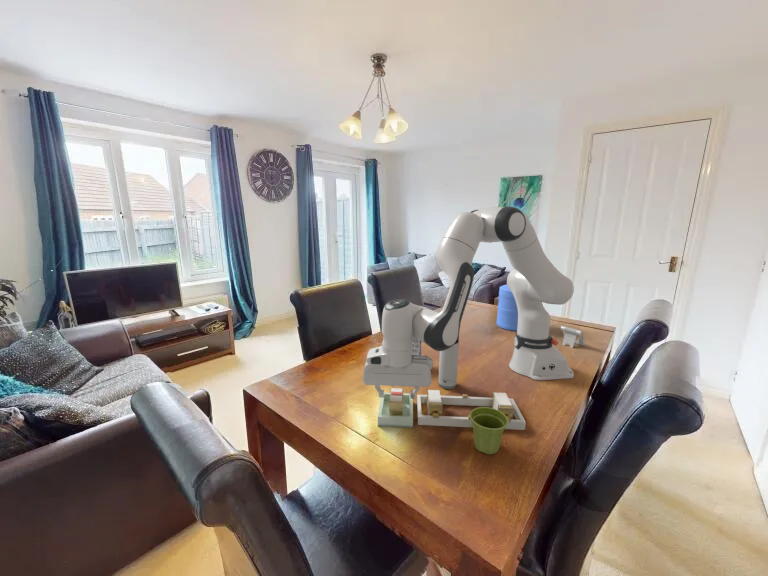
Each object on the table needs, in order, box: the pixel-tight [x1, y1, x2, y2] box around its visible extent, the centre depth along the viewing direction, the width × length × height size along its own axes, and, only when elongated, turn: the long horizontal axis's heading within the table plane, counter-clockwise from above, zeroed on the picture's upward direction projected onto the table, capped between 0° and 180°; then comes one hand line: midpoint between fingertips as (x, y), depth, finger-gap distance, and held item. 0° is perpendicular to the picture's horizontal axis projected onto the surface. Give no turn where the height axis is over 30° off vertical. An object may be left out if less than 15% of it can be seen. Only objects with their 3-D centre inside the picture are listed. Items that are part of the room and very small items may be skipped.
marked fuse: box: [389, 387, 404, 416], centre depth 98 cm, size 4×8×6 cm, turn 176°
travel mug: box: [437, 335, 460, 390], centre depth 113 cm, size 6×7×20 cm
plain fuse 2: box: [490, 391, 514, 419], centre depth 97 cm, size 4×8×6 cm, turn 176°
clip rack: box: [416, 393, 526, 431], centre depth 98 cm, size 30×12×3 cm, turn 86°
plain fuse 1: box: [426, 388, 443, 416], centre depth 98 cm, size 4×8×6 cm, turn 175°
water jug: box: [495, 283, 518, 332], centre depth 171 cm, size 16×16×28 cm
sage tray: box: [377, 391, 414, 429], centre depth 99 cm, size 10×13×3 cm
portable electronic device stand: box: [560, 325, 586, 349], centre depth 149 cm, size 9×8×8 cm
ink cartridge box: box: [412, 339, 422, 356], centre depth 129 cm, size 10×6×14 cm, turn 78°
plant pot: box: [469, 406, 508, 455], centre depth 84 cm, size 9×9×9 cm
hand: (397, 397), depth 98 cm, fingers open, 8 cm apart
